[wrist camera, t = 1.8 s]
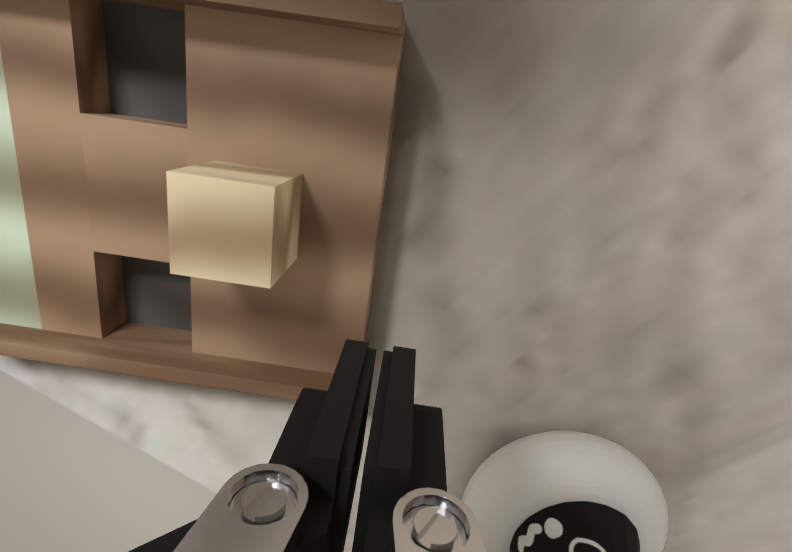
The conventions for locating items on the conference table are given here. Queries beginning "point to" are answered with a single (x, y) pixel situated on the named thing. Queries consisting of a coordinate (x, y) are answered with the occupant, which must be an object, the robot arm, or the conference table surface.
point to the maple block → (233, 222)
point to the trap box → (180, 147)
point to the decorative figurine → (567, 497)
